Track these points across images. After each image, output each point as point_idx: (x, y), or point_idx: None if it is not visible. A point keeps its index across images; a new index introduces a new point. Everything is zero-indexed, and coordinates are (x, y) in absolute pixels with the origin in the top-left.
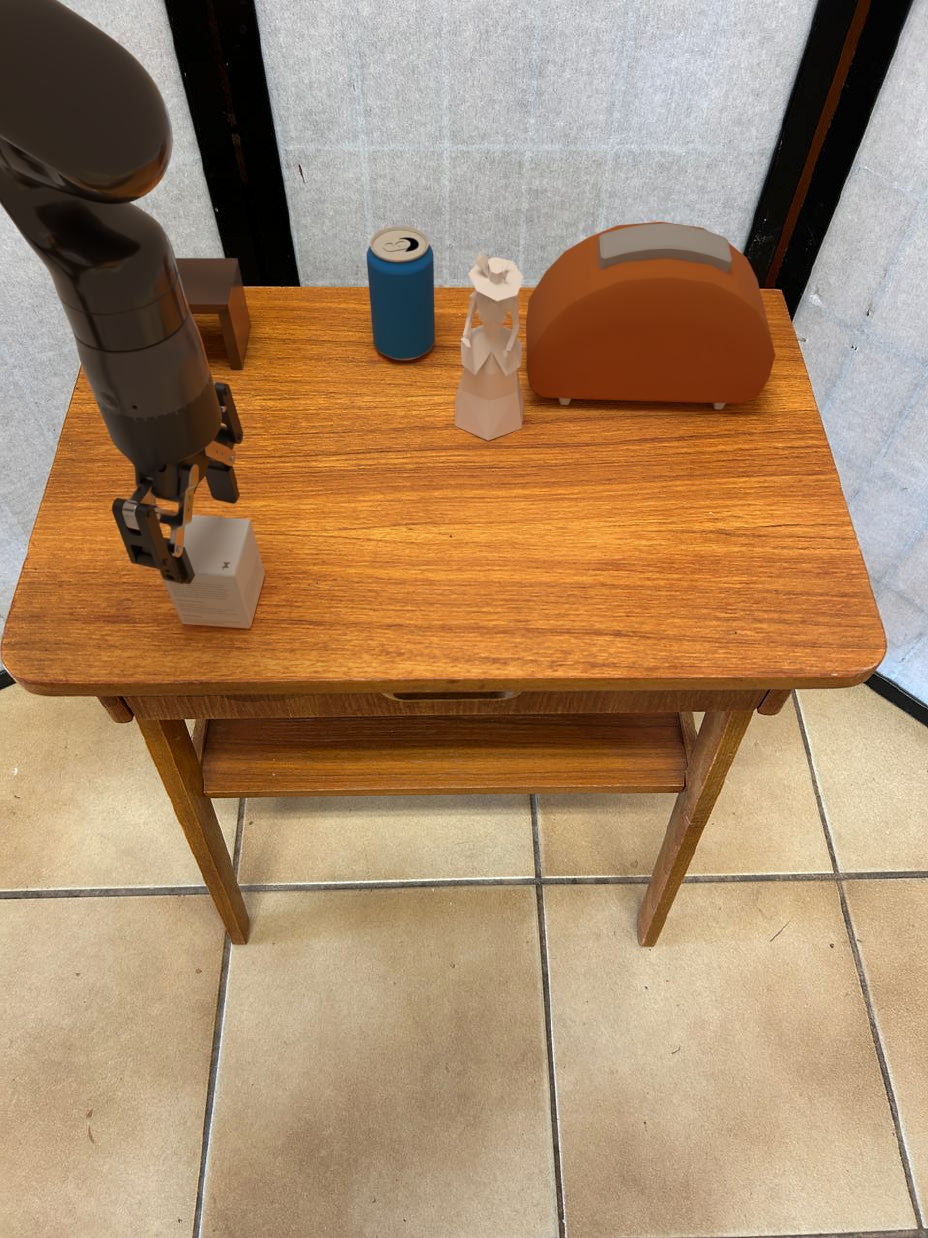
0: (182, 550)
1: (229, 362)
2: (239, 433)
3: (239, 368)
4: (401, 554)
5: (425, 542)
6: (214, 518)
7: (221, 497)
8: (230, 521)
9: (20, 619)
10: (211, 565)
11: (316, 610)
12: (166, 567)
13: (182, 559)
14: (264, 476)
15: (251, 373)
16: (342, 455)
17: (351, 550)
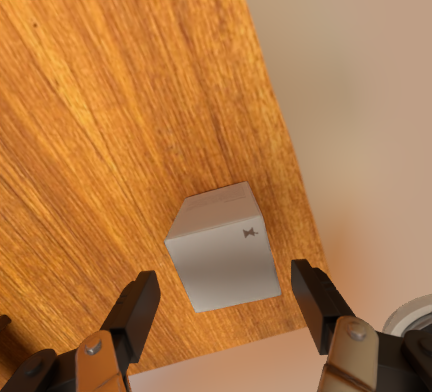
0: (351, 322)
1: (3, 328)
2: (25, 377)
3: (5, 317)
4: (93, 76)
5: (62, 54)
6: (184, 278)
7: (156, 290)
8: (179, 260)
9: (292, 329)
10: (256, 248)
11: (201, 131)
12: (420, 334)
13: (332, 301)
14: (89, 249)
15: (3, 307)
16: (22, 199)
17: (118, 133)
